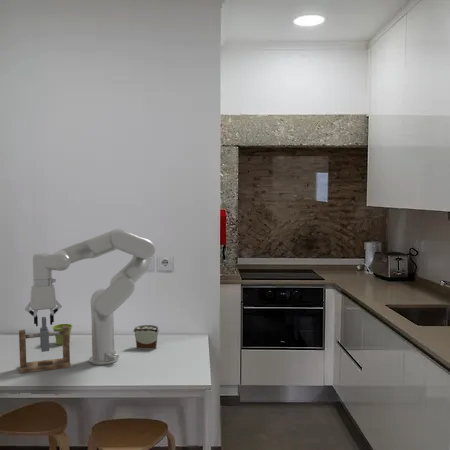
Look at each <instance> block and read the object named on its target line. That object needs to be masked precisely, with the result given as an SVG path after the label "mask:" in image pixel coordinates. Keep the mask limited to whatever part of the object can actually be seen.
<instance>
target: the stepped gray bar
mask: <svg viewBox="0 0 450 450" xmlns="http://www.w3.org/2000/svg"><path fill="white" fill-rule="evenodd" d="M39 333H41V337H39V340H40V341H39V342H40V348H41V352H42V353H44V352H50V336H49V328H48V326H47V317H46V316H42V317H41V326H40V328H39Z"/></svg>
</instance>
